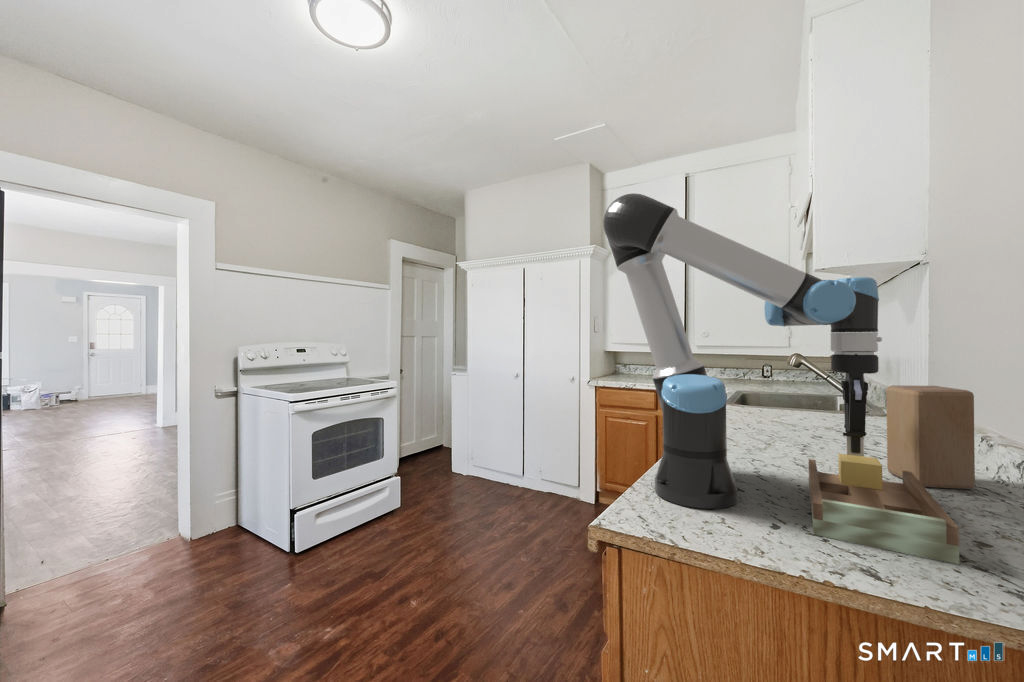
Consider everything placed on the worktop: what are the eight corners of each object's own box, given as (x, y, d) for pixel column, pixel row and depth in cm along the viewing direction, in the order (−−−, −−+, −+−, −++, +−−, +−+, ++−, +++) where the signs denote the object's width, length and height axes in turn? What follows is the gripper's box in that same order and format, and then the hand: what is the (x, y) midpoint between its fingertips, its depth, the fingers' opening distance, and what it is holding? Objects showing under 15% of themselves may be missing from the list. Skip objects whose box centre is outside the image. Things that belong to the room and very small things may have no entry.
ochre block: (841, 484, 80) (840, 460, 80) (838, 475, 85) (838, 453, 85) (882, 490, 76) (882, 465, 76) (877, 480, 81) (876, 458, 81)
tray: (813, 534, 65) (813, 499, 65) (808, 482, 88) (808, 456, 88) (959, 564, 56) (958, 524, 56) (911, 497, 79) (911, 469, 79)
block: (977, 491, 82) (976, 390, 82) (918, 488, 84) (917, 390, 84) (937, 474, 92) (936, 385, 91) (885, 472, 94) (883, 384, 94)
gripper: (884, 354, 77) (885, 479, 77) (872, 352, 88) (873, 462, 88) (833, 354, 82) (834, 473, 82) (828, 352, 92) (829, 457, 92)
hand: (854, 467), depth 85 cm, fingers closed
